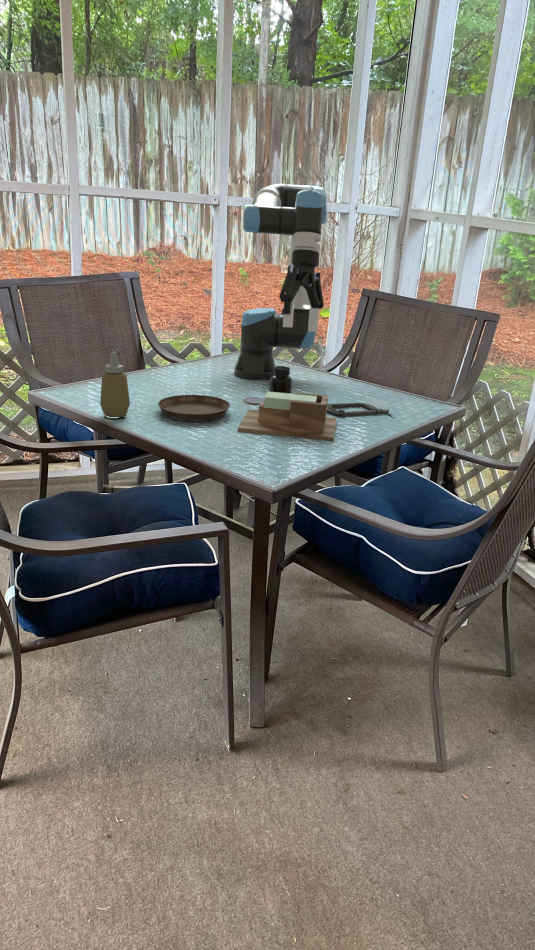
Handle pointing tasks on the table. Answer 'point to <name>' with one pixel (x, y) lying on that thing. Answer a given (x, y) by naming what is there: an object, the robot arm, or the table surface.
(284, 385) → the supplement bottle
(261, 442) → the table surface
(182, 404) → the plant saucer
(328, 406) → the c clamp
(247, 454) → the table surface
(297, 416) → the cradle
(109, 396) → the squeeze bottle
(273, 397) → the bar
